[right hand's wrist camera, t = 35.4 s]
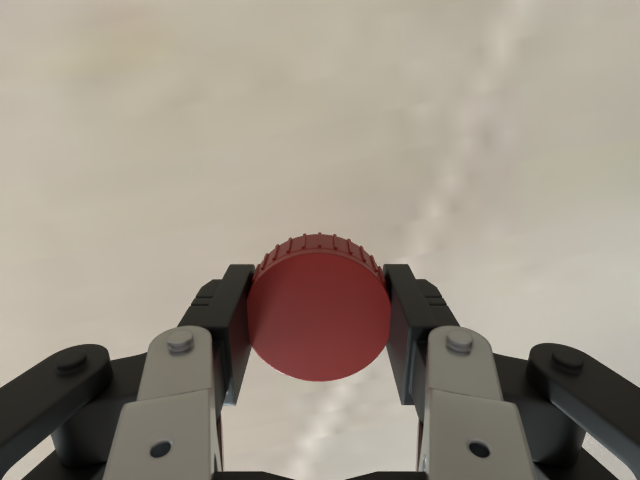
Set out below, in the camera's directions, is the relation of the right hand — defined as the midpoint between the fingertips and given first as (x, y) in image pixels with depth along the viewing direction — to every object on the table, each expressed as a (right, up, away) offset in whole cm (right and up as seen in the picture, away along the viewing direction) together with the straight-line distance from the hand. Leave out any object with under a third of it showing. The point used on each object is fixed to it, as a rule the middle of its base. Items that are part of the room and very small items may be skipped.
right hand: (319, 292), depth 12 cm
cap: (0, -1, -1) cm, 1 cm away
